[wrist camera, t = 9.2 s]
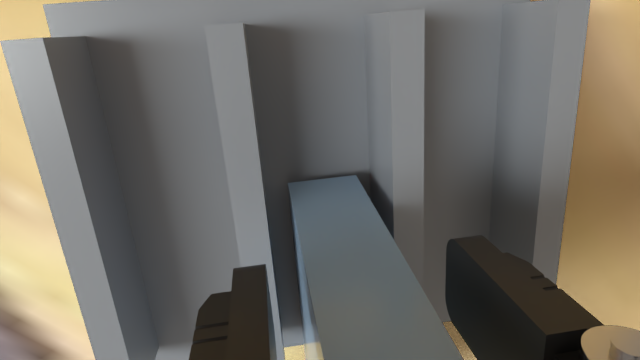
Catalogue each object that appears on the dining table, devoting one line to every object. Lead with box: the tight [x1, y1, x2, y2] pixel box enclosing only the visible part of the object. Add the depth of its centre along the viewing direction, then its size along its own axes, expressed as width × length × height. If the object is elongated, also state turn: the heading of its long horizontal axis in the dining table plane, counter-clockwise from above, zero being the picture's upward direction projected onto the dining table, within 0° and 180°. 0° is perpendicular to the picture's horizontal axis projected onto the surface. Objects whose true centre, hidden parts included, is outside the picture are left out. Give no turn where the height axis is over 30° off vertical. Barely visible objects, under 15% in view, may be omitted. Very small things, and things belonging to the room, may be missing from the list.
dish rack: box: [0, 0, 590, 360], centre depth 16 cm, size 14×16×4 cm
